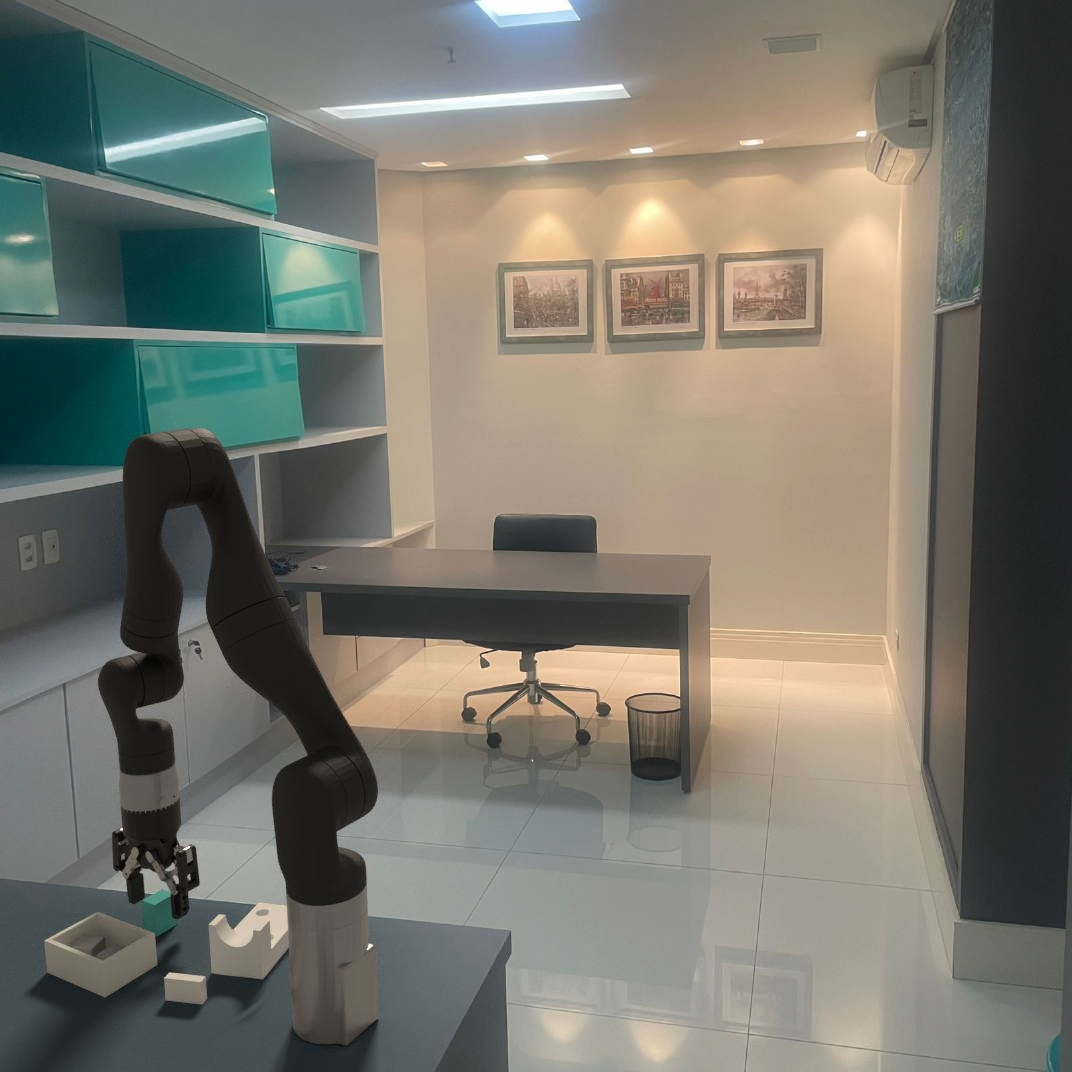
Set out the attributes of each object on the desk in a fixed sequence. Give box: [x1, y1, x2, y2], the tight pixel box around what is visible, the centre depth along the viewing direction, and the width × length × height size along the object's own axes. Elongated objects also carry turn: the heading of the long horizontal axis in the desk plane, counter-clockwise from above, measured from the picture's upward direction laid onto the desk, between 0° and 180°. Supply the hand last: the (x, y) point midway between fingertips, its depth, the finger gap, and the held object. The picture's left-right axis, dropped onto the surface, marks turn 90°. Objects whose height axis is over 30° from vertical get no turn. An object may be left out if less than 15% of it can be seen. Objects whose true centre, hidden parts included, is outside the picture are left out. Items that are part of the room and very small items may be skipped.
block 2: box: [96, 944, 125, 960], centre depth 133 cm, size 3×3×3 cm
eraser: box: [163, 972, 208, 1005], centre depth 128 cm, size 1×5×4 cm, turn 79°
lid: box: [141, 888, 178, 937], centre depth 146 cm, size 12×9×6 cm
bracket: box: [208, 902, 289, 980], centre depth 139 cm, size 13×7×8 cm, turn 167°
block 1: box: [71, 935, 106, 957], centre depth 136 cm, size 3×3×3 cm
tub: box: [43, 911, 158, 998], centre depth 135 cm, size 11×8×5 cm
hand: (158, 908), depth 144 cm, fingers open, 8 cm apart
